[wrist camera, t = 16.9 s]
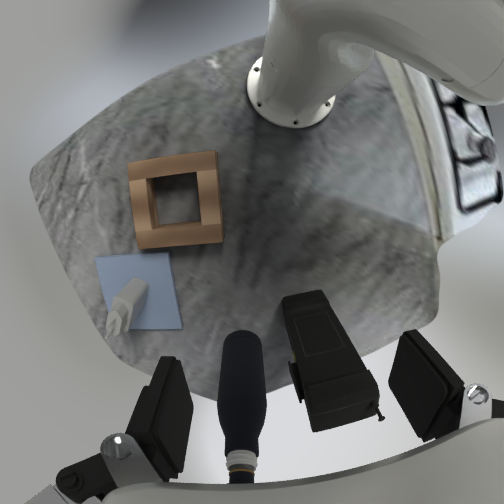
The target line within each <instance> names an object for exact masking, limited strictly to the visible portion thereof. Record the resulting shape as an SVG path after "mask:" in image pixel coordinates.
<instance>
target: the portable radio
mask: <svg viewBox="0 0 504 504" xmlns="http://www.w3.org/2000/svg"><path fill="white" fill-rule="evenodd" d="M283 312H284V318H285V324H286V329H287V332H288V336H289V340H290V344H291V348H292V352H293V356H294V360H295V363H290V361H288V364H289V370H290V374H291V377H292V380H293V383H294V386H295V390H296V393H297V396H298V399H299V402H300V403H302V399H304V400H305V404H306V408H307V412H308V416H309V420H310V425H311V429H312V431H313V432H318V431H323V430H327V429H331V428H335V427H339V426H342V425H346V424H349V423H353V422H356V421H359V420H362V419H365V418H368V417H371V416H373V415H376V414H378V416H379V420H378V421H383V420H384V419H385V417H384V416H382V415H381V413H380V411H379V409H378V407H379V404H378V403H379V397H380V395H379V389H378V385H377V383H376V381H375V379H374V378H373V376H372V374H371V372H370V370H367V369H366V367H365V365H364V363H363V361H362V360H361V358H360V356H359V354H358V352H357V351H356V349H355V347H354V345H353V344H352V342H351V340H350V338H349V337H348V335H347V333H346V332H345V330H344V328H343V326H342V325H341V323H340V321H339V320H338V318H337V316H336V315H335V313H334V311H333V309H332V308H331V306H330V304H329V301H328V300H327V298H326V296H325V295H324V293H323V292H322V290H315V291H310V292H306V293H301V294H296V295H292V296H287V297H284V298H283Z"/></svg>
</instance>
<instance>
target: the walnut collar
mask: <svg viewBox="0 0 504 504" xmlns="http://www.w3.org/2000/svg"><path fill="white" fill-rule="evenodd" d="M127 166H128V177H129V187H130V196H131V204H132V212H133V219H134V226H135V232H136V238H137V244H138V249H147V248H159V247H170V246H182V245H194V244H207V243H219V242H223V240H224V236H225V235H224V225H223V214H222V203H221V192H220V180H219V167H218V155H217V152H216V151H215V150H212V151H203V152H195V153H187V154H180V155H173V156H166V157H160V158H154V159H148V160H142V161H137V162H131V163H127ZM193 172H197V181H198V192H199V202H200V212H201V221H194V222H184V223H174V224H164V225H159V219H158V211H157V203H156V194H155V185H154V178H155V177H162V176H169V175H177V174H184V173H193Z"/></svg>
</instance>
